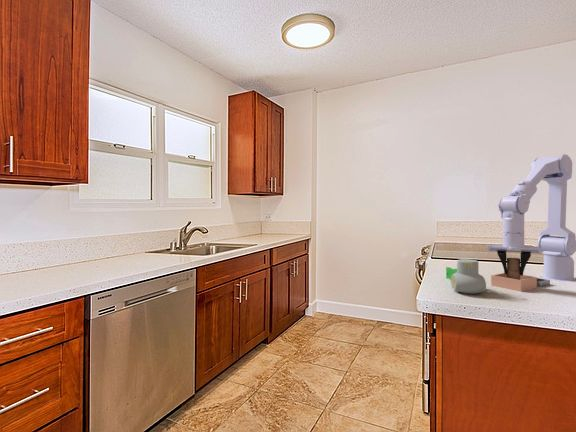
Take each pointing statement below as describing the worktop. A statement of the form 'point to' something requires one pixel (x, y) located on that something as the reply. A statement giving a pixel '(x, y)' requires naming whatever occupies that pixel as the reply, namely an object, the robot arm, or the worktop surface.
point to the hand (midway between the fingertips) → (513, 274)
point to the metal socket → (542, 282)
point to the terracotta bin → (514, 282)
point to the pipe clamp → (450, 272)
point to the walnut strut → (513, 268)
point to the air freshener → (468, 277)
